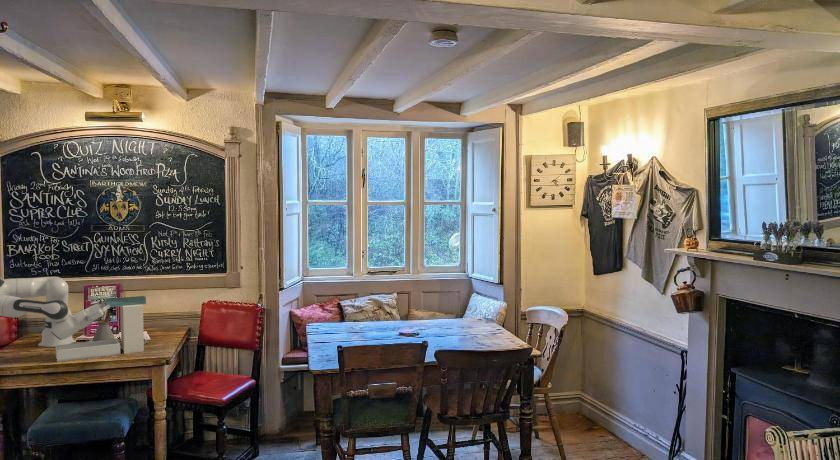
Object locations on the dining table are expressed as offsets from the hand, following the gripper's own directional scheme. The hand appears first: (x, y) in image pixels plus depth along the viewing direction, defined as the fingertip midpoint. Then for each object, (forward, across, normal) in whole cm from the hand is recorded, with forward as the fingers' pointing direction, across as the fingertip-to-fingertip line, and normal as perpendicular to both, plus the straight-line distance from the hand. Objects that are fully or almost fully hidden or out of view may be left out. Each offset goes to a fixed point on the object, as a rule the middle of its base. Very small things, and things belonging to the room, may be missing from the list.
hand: (108, 303), depth 337 cm
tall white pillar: (-4, 0, +30) cm, 30 cm away
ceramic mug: (0, +15, +32) cm, 35 cm away
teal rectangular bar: (+7, 0, +5) cm, 9 cm away
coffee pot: (-12, +31, +25) cm, 42 cm away
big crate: (-23, 0, +19) cm, 29 cm away
